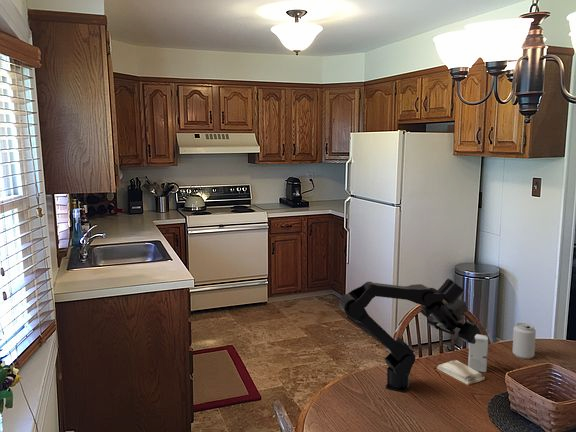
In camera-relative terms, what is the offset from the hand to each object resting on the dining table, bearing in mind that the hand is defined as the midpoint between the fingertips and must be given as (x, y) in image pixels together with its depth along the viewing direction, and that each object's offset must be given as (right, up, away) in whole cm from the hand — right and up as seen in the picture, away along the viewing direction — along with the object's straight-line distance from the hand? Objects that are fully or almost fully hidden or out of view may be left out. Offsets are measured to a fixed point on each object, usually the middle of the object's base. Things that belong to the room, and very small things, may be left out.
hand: (464, 338), depth 168 cm
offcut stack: (-1, -13, +1) cm, 13 cm away
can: (+28, -11, +15) cm, 33 cm away
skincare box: (+7, -12, +5) cm, 15 cm away
